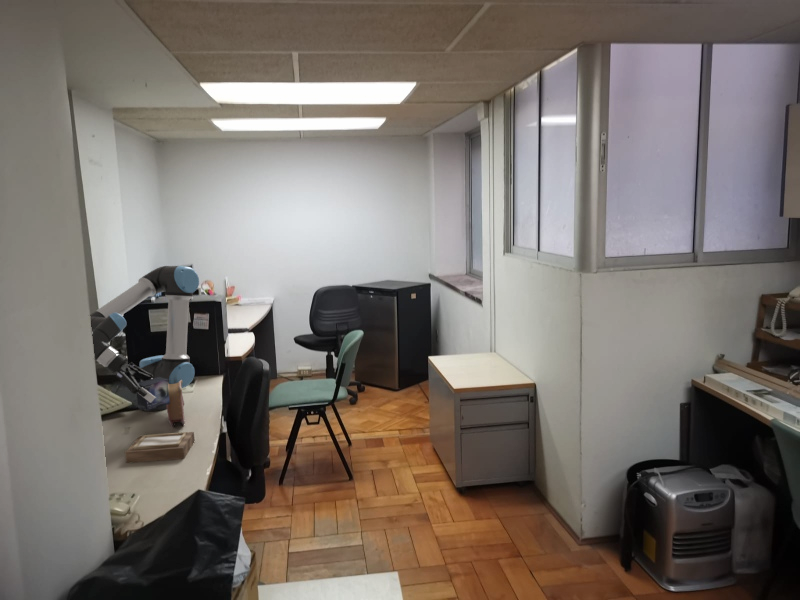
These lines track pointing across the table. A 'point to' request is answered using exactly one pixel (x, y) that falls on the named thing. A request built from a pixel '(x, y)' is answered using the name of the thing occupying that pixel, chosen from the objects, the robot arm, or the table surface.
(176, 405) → the face sculpture
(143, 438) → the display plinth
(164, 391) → the small box
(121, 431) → the table surface
